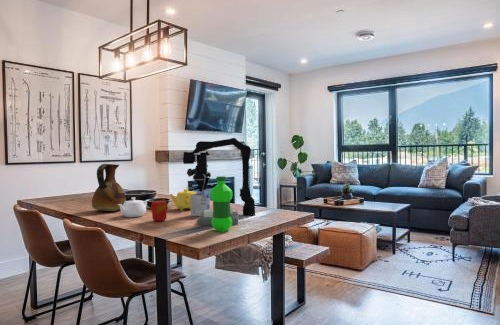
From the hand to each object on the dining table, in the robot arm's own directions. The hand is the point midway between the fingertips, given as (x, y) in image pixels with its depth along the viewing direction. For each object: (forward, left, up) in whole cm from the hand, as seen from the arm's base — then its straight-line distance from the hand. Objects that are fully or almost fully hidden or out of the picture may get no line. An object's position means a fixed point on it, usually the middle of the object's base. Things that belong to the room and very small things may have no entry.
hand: (202, 190), depth 201 cm
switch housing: (-10, +17, -14) cm, 24 cm away
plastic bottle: (-13, +37, -14) cm, 42 cm away
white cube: (-15, +13, -12) cm, 23 cm away
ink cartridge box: (+2, -1, -15) cm, 15 cm away
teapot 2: (+14, -22, -15) cm, 30 cm away
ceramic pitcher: (+62, -21, -15) cm, 67 cm away
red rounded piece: (+22, +13, -14) cm, 29 cm away
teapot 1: (+41, -2, -15) cm, 43 cm away
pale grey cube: (-5, +22, -12) cm, 25 cm away
